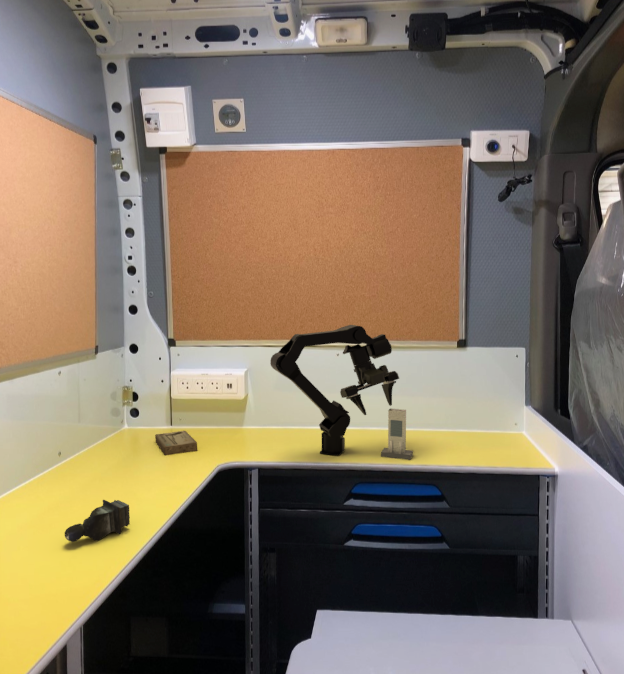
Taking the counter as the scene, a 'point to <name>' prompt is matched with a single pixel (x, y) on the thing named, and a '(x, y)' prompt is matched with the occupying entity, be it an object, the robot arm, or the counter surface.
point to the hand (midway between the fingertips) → (378, 410)
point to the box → (176, 442)
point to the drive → (397, 429)
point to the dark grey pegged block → (406, 455)
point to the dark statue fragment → (101, 522)
